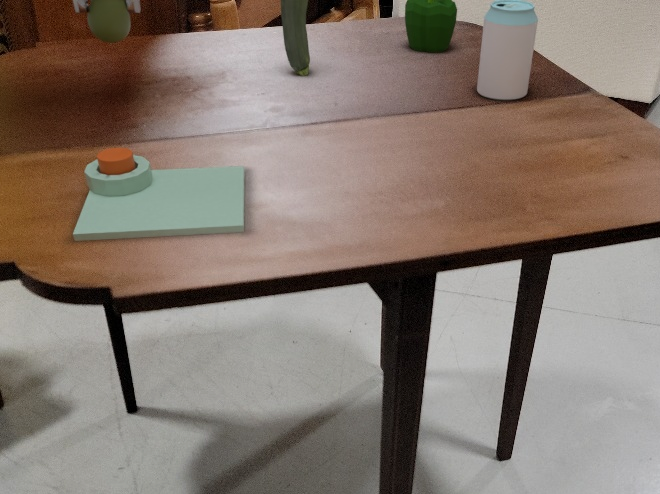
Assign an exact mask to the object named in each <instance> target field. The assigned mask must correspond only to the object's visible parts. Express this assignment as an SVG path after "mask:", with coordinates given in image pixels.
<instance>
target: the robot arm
mask: <svg viewBox="0 0 660 494" xmlns="http://www.w3.org/2000/svg"><path fill="white" fill-rule="evenodd" d="M88 2H89V1H88V0H72V3H73V8H74V12H75V13H76V14H88V11H89V7H90V4H89V3H88ZM126 4H127V5H128V7H127V11H128V13H129V14H140V13H141V10H142V9H141V2H140V0H126Z"/></svg>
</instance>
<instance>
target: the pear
mask: <svg viewBox="0 0 660 494" xmlns="http://www.w3.org/2000/svg"><path fill="white" fill-rule="evenodd" d="M127 7H128V5H127V4H126V0H90V3H89V11H88V13H87V17H86V18H87V19H86V20H87V25H88V27H89V30H90V32H91V33H92V34H93V35H94V37H95V38H97V39H98V40H100V41H102V42H104V43H108V44H115V43H119V42H121V41H123V40H125V39H126V38H127V36H129V34H130V31H131V26H132V25H131V24H132V21H131V13H128V11H127Z"/></svg>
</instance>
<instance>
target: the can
mask: <svg viewBox="0 0 660 494" xmlns="http://www.w3.org/2000/svg"><path fill="white" fill-rule="evenodd" d="M535 8H536V5H535V4H534V3H533V2H530V1H528V0H493V1H492V2H490V8H489V9H488V10H487V12H486V13H485V14H484V16H483V25H482V33H481V34H482V35H481V45H480V56H479V63H478V65H479V66H478V75H477V83H476V92H477V93H478V94H479V95H480V96H482V97H483V98H485V99H490V100H494V101H514V100H515V101H516V100H520V99H523V98H524V97H526V96H527V94H528V92H529V91H528V89H529V83H530V76H531V69H532V64H533V63H532V62H533V58H534V57H533V56H534V49H535V43H536V36H537V29H538V21H539V18H538V16H537V14H536V11H535Z"/></svg>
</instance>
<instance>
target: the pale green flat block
mask: <svg viewBox="0 0 660 494" xmlns="http://www.w3.org/2000/svg"><path fill="white" fill-rule="evenodd" d="M133 157H134V162H135V167H136V169H135V170H133V171H131V172H129V173H125V174H121V175H105V174H101V173H100V169H99V164H98V160H97V159H95V160H93V161H91V162H90V163H88V164H86V167H85V169H84V176H85V180H86V184H87V188H88V189H89V191H88V194H87V196H86V199H85V201H84V204H83V206H82V209H81V211H80V214H79V217H78V219H77V222H76V225H75V227H74V230H73V233H72V236H73V241H75V242H78V241H79V242H81V241H82V242H83V241H102V240H120V239H122V240H123V239H137V238H139V239H140V238H157V237H158V238H159V237H173V236H174V237H175V236H193V235H194V236H196V235H215V234H233V233H234V234H235V233H244V232H245V177H246V176H245V166H244V165H235V166H233V165H231V166H213V167H212V166H211V167H210V166H209V167H189V168H168V169H167V168H165V169H164V168H163V169H152V168H151V163H150V162H151V161H149V160H148V159H146V158H145V157H144V156H141V155H136V154H133Z"/></svg>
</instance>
